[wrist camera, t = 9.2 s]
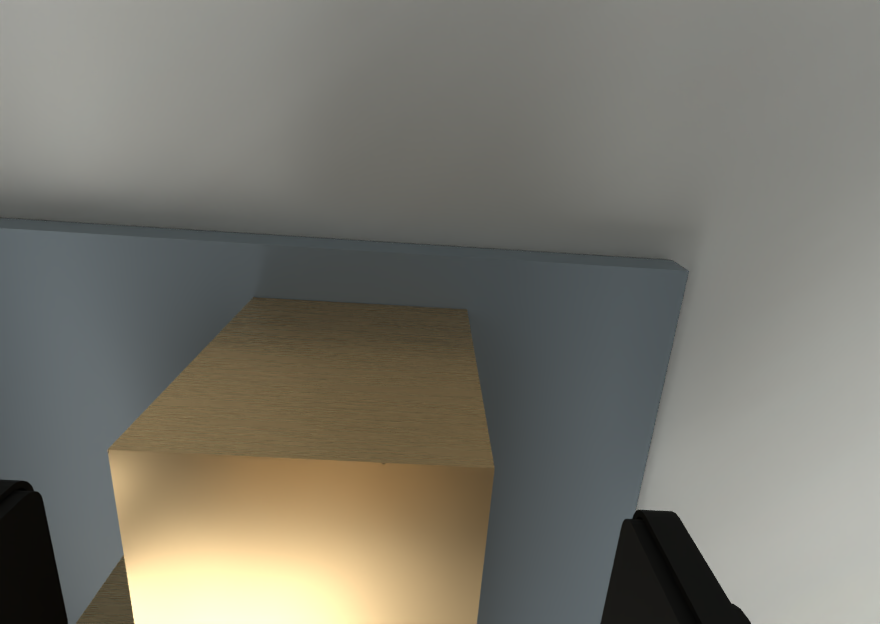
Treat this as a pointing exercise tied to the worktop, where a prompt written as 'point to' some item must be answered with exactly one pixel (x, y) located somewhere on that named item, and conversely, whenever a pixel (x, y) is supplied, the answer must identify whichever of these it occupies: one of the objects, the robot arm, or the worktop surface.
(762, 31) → the worktop surface
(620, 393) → the board
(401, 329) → the bracket
